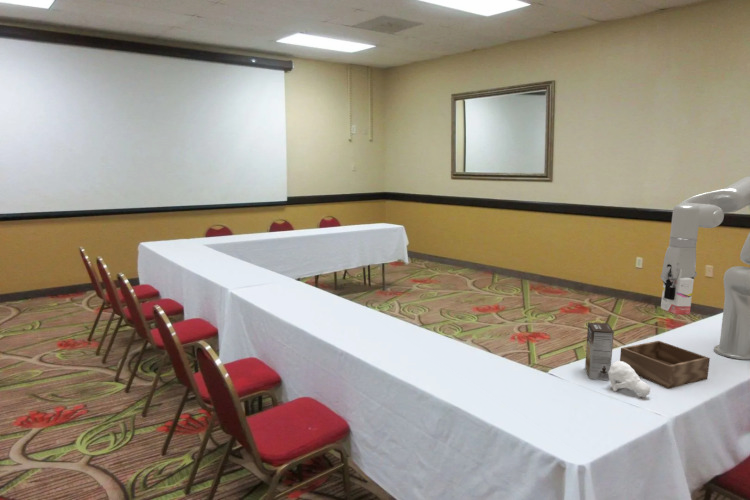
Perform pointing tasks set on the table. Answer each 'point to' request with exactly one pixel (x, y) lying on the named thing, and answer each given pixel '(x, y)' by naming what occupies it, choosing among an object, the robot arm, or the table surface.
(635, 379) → the white figurine
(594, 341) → the coffee box
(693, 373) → the walnut box
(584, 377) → the table surface
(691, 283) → the ink cartridge box
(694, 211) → the robot arm
